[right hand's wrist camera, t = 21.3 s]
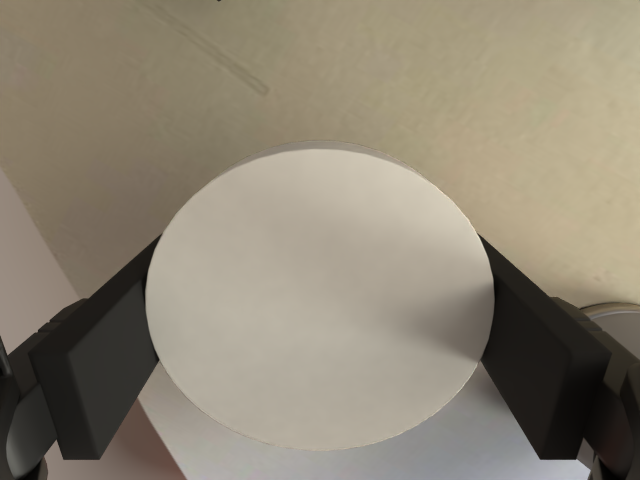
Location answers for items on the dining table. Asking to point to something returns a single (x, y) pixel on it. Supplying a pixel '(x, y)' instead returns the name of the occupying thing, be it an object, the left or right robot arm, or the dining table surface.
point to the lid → (319, 297)
